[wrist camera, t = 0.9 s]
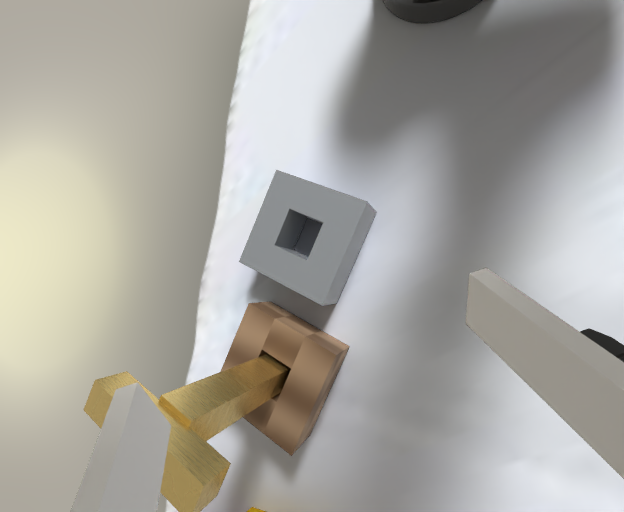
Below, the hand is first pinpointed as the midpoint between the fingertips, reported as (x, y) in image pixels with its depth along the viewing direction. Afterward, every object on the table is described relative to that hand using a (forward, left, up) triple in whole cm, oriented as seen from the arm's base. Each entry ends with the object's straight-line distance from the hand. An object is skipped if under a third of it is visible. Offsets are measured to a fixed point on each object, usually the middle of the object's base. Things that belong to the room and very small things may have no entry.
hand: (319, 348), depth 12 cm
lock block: (+16, -2, -25) cm, 29 cm away
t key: (+16, -2, -25) cm, 29 cm away
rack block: (+4, -13, -25) cm, 28 cm away
